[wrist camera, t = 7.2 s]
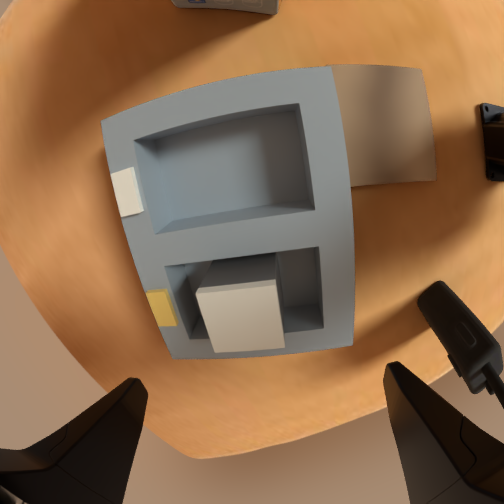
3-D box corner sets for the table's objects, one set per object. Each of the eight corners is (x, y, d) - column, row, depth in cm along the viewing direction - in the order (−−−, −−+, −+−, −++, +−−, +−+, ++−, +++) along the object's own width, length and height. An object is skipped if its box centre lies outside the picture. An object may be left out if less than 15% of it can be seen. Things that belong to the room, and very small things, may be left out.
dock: (319, 83, 14) (332, 64, 10) (342, 312, 21) (354, 349, 16) (132, 123, 16) (96, 120, 12) (186, 327, 22) (171, 362, 18)
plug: (275, 245, 18) (275, 285, 13) (283, 297, 19) (284, 347, 14) (216, 253, 18) (195, 293, 13) (228, 303, 20) (214, 352, 15)
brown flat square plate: (415, 71, 13) (421, 69, 12) (429, 178, 16) (436, 180, 15) (323, 68, 14) (326, 64, 13) (342, 185, 17) (346, 187, 16)
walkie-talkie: (455, 307, 20) (536, 423, 6) (429, 329, 21) (497, 456, 7) (439, 274, 19) (544, 403, 5) (411, 300, 20) (496, 446, 6)
